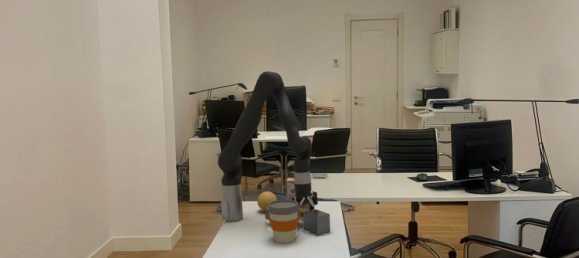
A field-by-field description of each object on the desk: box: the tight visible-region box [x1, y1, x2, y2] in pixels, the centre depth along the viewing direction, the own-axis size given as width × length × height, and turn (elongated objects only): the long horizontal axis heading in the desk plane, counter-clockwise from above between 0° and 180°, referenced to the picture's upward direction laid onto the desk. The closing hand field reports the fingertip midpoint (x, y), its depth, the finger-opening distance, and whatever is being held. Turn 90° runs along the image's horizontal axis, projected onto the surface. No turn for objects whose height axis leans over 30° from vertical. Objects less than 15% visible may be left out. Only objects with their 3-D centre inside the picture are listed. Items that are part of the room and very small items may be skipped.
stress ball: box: [256, 191, 278, 212], centre depth 233 cm, size 10×10×10 cm
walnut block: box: [264, 200, 310, 221], centre depth 218 cm, size 23×4×8 cm, turn 125°
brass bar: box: [298, 207, 310, 223], centre depth 207 cm, size 4×21×4 cm, turn 35°
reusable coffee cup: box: [268, 199, 299, 244], centre depth 193 cm, size 13×13×15 cm
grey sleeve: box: [303, 208, 331, 237], centre depth 201 cm, size 7×10×8 cm
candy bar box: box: [285, 178, 296, 200], centre depth 230 cm, size 11×5×16 cm, turn 84°
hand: (304, 216), depth 209 cm, fingers open, 8 cm apart
